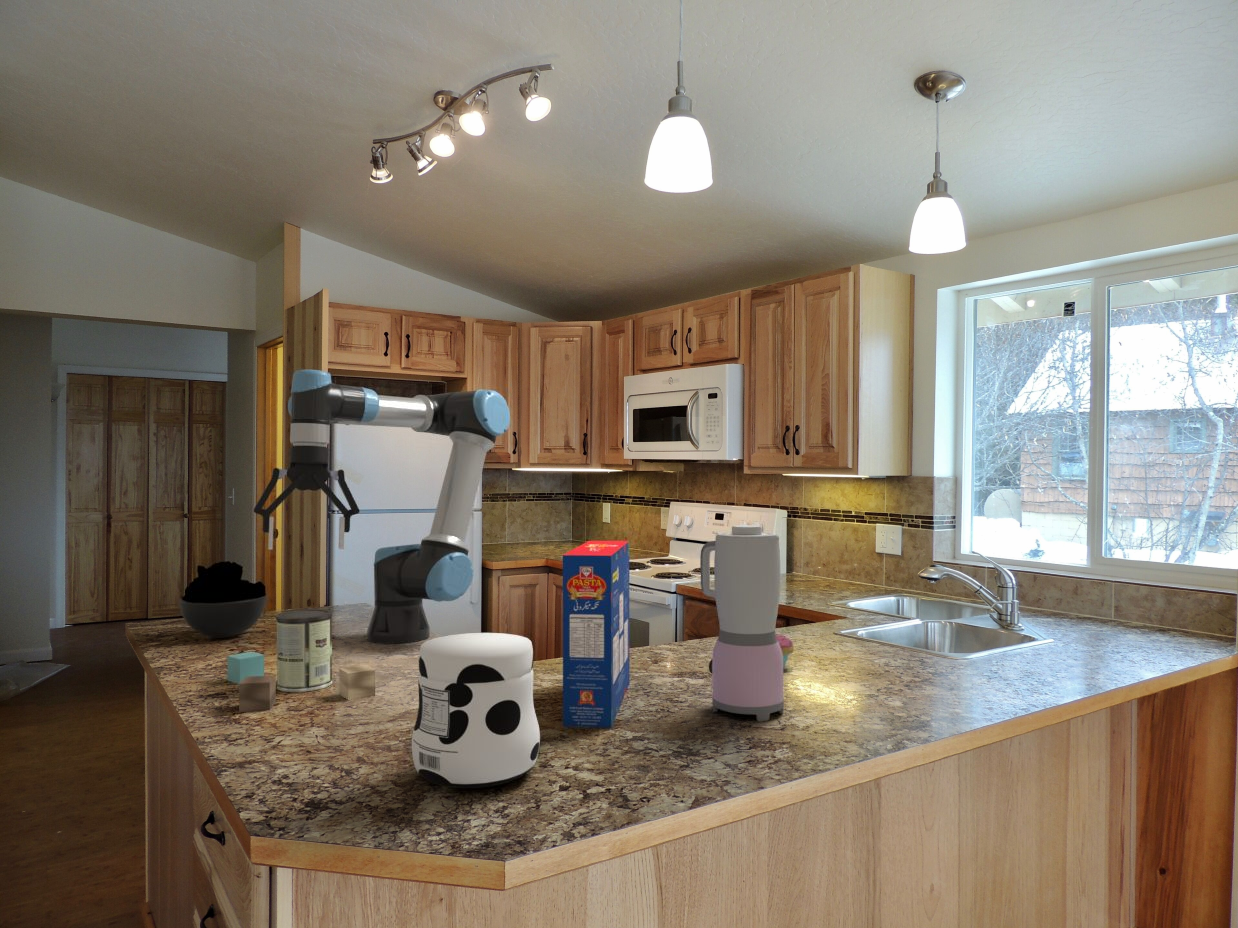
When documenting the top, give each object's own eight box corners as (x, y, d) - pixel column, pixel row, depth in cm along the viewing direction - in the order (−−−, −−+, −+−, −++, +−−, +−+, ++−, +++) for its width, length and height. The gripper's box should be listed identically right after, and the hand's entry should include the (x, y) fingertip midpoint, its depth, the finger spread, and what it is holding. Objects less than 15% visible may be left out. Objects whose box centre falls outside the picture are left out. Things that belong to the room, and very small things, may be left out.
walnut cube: (275, 702, 149) (275, 675, 149) (269, 710, 144) (269, 682, 144) (245, 704, 148) (246, 676, 148) (239, 712, 143) (239, 683, 143)
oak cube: (365, 690, 157) (365, 664, 157) (375, 696, 153) (375, 669, 153) (339, 695, 154) (339, 668, 154) (348, 700, 150) (348, 673, 150)
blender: (797, 709, 144) (796, 525, 144) (762, 726, 134) (761, 529, 134) (720, 694, 154) (719, 522, 154) (682, 708, 144) (681, 525, 144)
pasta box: (589, 682, 163) (589, 540, 163) (629, 683, 162) (629, 540, 162) (562, 725, 135) (562, 555, 135) (611, 727, 134) (611, 555, 134)
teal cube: (251, 675, 169) (251, 651, 169) (264, 679, 165) (264, 654, 166) (227, 680, 165) (227, 655, 165) (239, 684, 162) (239, 659, 162)
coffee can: (292, 678, 166) (292, 608, 166) (341, 679, 165) (341, 608, 165) (265, 691, 156) (265, 617, 156) (317, 693, 155) (317, 618, 155)
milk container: (543, 752, 122) (543, 630, 122) (535, 798, 105) (535, 656, 105) (425, 753, 122) (425, 631, 122) (398, 800, 104) (398, 658, 105)
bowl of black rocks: (255, 626, 222) (255, 556, 222) (277, 638, 206) (277, 562, 206) (171, 635, 209) (171, 561, 209) (188, 649, 193) (188, 569, 194)
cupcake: (748, 670, 172) (748, 612, 172) (757, 661, 180) (757, 606, 180) (790, 674, 169) (789, 615, 169) (797, 664, 177) (797, 608, 177)
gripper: (369, 448, 178) (366, 546, 178) (243, 443, 168) (239, 548, 167) (374, 447, 172) (371, 549, 171) (243, 442, 161) (239, 550, 161)
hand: (306, 548), depth 169 cm, fingers open, 13 cm apart
